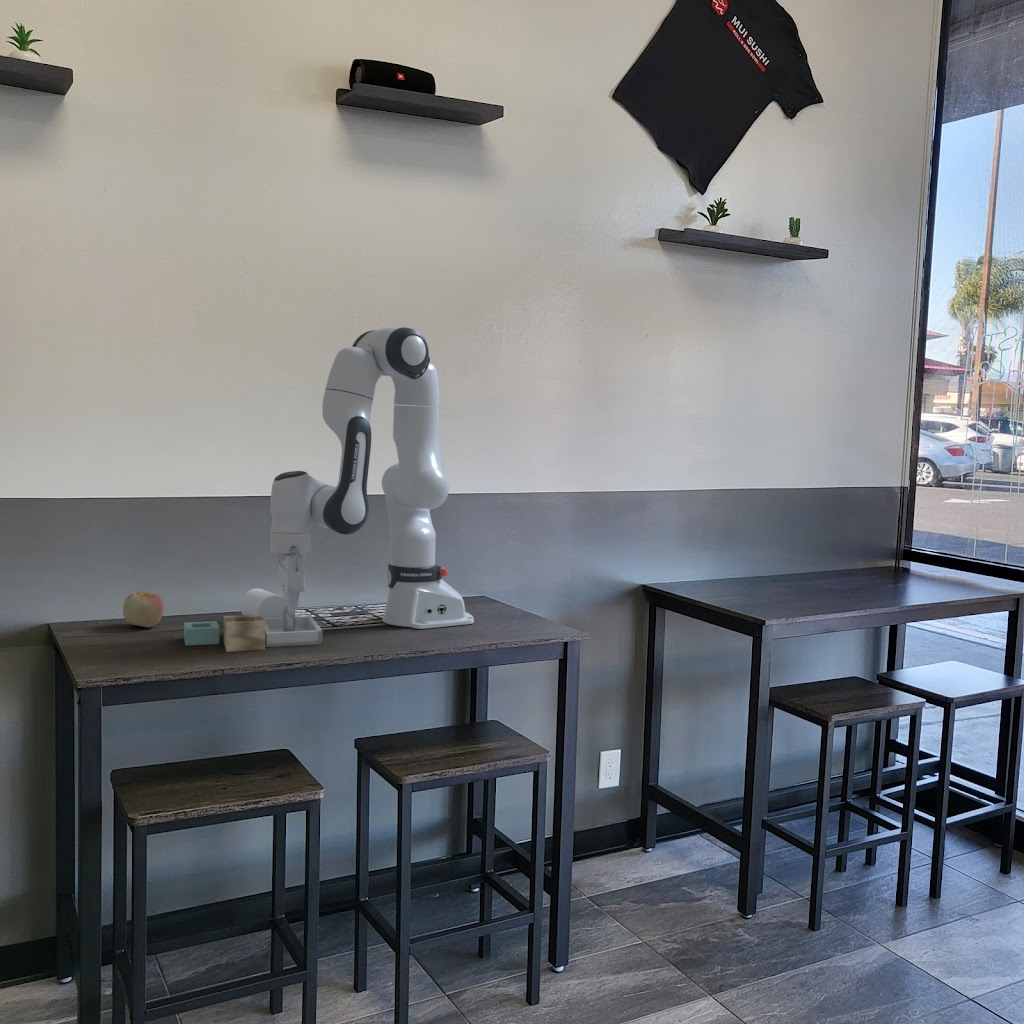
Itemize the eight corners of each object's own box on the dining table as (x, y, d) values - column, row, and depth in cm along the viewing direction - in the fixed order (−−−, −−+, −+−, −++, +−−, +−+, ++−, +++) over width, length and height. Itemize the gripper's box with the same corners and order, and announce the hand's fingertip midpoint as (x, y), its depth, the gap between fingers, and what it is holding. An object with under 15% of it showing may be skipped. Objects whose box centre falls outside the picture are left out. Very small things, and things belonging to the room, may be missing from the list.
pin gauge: (295, 632, 226) (295, 580, 225) (296, 635, 223) (297, 582, 222) (281, 632, 225) (281, 580, 224) (283, 635, 222) (283, 582, 221)
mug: (258, 630, 231) (258, 596, 230) (239, 622, 239) (239, 589, 238) (304, 624, 239) (305, 591, 238) (285, 617, 246) (285, 585, 245)
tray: (311, 628, 234) (311, 616, 234) (322, 644, 219) (322, 631, 219) (258, 631, 230) (258, 618, 229) (266, 647, 215) (266, 633, 214)
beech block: (261, 641, 220) (261, 614, 220) (265, 649, 213) (265, 622, 212) (223, 642, 217) (223, 616, 217) (226, 651, 210) (226, 623, 209)
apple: (146, 621, 236) (145, 588, 236) (171, 626, 232) (171, 592, 231) (114, 627, 229) (114, 593, 228) (140, 633, 224) (140, 598, 224)
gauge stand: (216, 636, 223) (216, 621, 223) (219, 643, 217) (219, 627, 216) (184, 638, 221) (184, 622, 220) (185, 645, 214) (185, 629, 214)
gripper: (312, 550, 214) (311, 613, 215) (298, 537, 233) (298, 596, 234) (282, 551, 211) (282, 615, 213) (270, 538, 230) (270, 597, 232)
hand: (290, 604), depth 224 cm, fingers open, 8 cm apart
